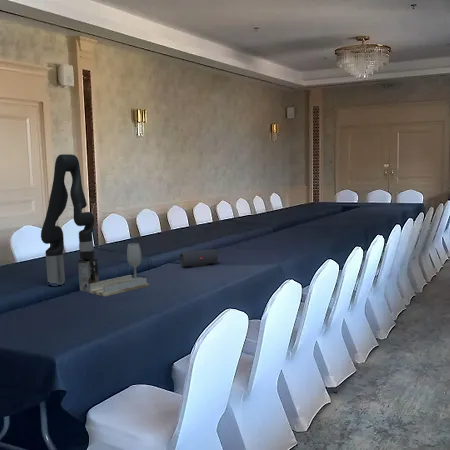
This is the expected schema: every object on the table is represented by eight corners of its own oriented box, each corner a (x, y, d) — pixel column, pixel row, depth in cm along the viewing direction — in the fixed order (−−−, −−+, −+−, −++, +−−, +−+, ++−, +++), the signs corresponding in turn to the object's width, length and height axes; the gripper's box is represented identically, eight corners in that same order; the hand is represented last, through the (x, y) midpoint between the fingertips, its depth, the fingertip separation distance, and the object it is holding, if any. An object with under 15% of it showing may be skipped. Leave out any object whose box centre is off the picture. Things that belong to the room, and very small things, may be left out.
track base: (87, 292, 292) (87, 283, 292) (131, 282, 312) (131, 274, 311) (104, 296, 281) (103, 288, 280) (148, 286, 300) (148, 277, 300)
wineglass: (143, 281, 312) (141, 244, 310) (127, 282, 311) (125, 245, 308) (143, 278, 321) (141, 242, 318) (128, 279, 319) (125, 243, 317)
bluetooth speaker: (184, 269, 341) (183, 253, 340) (179, 266, 350) (178, 251, 349) (218, 265, 350) (217, 249, 349) (212, 262, 359) (212, 247, 358)
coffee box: (89, 287, 304) (87, 258, 302) (99, 287, 301) (97, 258, 299) (79, 291, 296) (77, 261, 294) (89, 291, 293) (87, 261, 291)
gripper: (73, 249, 298) (75, 279, 300) (87, 251, 288) (89, 282, 290) (86, 247, 304) (88, 276, 306) (99, 249, 293) (102, 279, 295)
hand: (88, 279), depth 298 cm, fingers open, 8 cm apart
